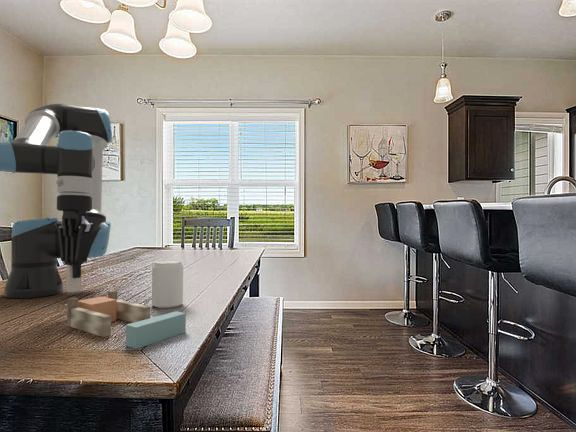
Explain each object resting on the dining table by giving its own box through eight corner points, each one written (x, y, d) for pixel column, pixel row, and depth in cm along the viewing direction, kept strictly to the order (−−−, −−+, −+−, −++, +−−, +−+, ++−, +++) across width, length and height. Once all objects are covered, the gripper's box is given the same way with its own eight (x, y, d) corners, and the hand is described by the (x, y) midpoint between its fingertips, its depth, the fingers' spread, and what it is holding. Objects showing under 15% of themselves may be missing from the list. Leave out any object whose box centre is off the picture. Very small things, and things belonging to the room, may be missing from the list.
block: (76, 322, 85) (76, 301, 85) (101, 316, 90) (101, 296, 90) (91, 327, 82) (91, 304, 82) (116, 320, 87) (116, 299, 87)
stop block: (125, 345, 70) (126, 324, 70) (175, 329, 80) (176, 311, 80) (135, 349, 68) (135, 327, 68) (185, 332, 78) (185, 313, 78)
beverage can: (173, 310, 96) (174, 264, 96) (145, 308, 98) (146, 263, 98) (188, 302, 104) (188, 260, 104) (161, 301, 106) (162, 259, 106)
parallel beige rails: (67, 325, 82) (67, 298, 82) (113, 314, 91) (113, 290, 91) (103, 337, 75) (104, 307, 75) (150, 324, 84) (150, 297, 84)
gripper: (45, 194, 91) (43, 290, 91) (73, 193, 84) (72, 296, 84) (76, 196, 98) (74, 286, 97) (104, 195, 91) (103, 291, 90)
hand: (73, 291), depth 91 cm, fingers closed
